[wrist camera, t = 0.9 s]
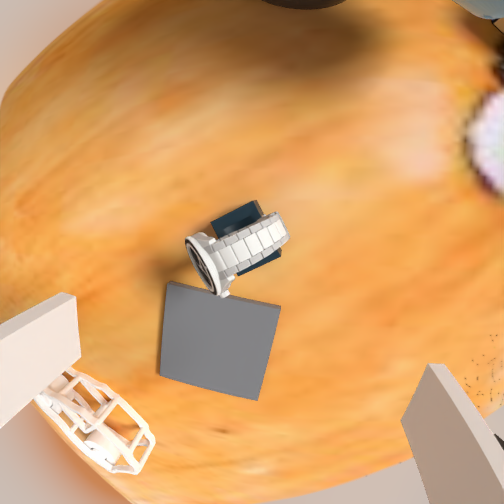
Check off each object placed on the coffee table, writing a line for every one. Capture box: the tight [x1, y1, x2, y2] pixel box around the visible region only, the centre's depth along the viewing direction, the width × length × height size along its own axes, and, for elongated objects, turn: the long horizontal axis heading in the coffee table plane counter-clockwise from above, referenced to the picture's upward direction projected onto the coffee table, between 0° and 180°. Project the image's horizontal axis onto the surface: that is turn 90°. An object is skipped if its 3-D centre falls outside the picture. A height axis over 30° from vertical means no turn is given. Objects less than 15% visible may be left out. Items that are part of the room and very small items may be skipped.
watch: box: [185, 200, 290, 298], centre depth 26 cm, size 6×8×11 cm
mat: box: [160, 281, 281, 401], centre depth 33 cm, size 12×12×1 cm
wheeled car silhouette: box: [34, 366, 156, 475], centre depth 35 cm, size 20×11×7 cm, turn 39°
